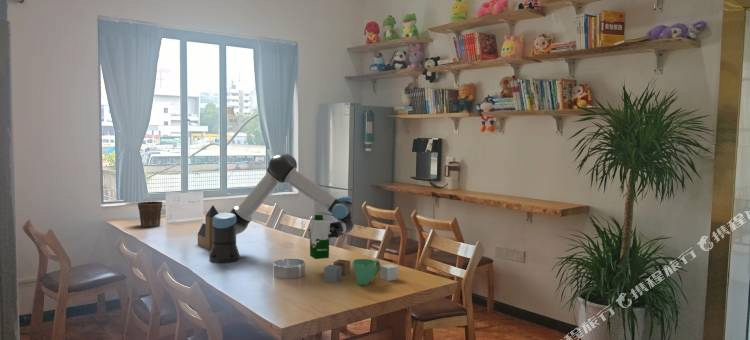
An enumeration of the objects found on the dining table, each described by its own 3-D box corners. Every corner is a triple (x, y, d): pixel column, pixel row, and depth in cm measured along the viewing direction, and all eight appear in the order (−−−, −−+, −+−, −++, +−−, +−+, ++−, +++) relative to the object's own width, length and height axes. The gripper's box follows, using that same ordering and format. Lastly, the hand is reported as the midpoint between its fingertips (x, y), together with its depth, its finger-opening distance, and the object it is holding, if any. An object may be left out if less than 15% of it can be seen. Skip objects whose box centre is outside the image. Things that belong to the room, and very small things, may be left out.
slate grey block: (323, 280, 243) (324, 267, 243) (329, 277, 249) (330, 264, 248) (335, 282, 241) (336, 269, 240) (341, 278, 246) (341, 266, 246)
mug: (363, 288, 232) (364, 265, 232) (347, 283, 239) (348, 261, 238) (386, 281, 243) (386, 259, 242) (370, 277, 250) (370, 256, 249)
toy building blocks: (209, 250, 298) (209, 205, 296) (197, 244, 313) (197, 202, 311) (230, 248, 306) (231, 204, 304) (218, 242, 321) (218, 200, 319)
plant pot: (132, 227, 363) (132, 203, 362) (146, 223, 379) (146, 200, 377) (154, 228, 360) (154, 204, 359) (167, 224, 376) (167, 201, 375)
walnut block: (333, 274, 254) (333, 262, 253) (338, 271, 259) (338, 259, 259) (344, 276, 251) (345, 263, 251) (350, 273, 257) (350, 260, 257)
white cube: (379, 278, 250) (380, 265, 249) (390, 276, 253) (391, 263, 252) (387, 281, 245) (387, 268, 244) (397, 279, 248) (398, 266, 247)
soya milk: (324, 254, 265) (325, 214, 264) (331, 258, 257) (332, 217, 256) (307, 255, 261) (308, 214, 260) (314, 259, 253) (315, 217, 252)
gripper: (355, 238, 271) (335, 246, 250) (317, 233, 279) (295, 241, 258) (355, 223, 271) (336, 230, 250) (318, 219, 279) (296, 226, 258)
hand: (315, 236), depth 254 cm, fingers closed on soya milk, 8 cm apart
